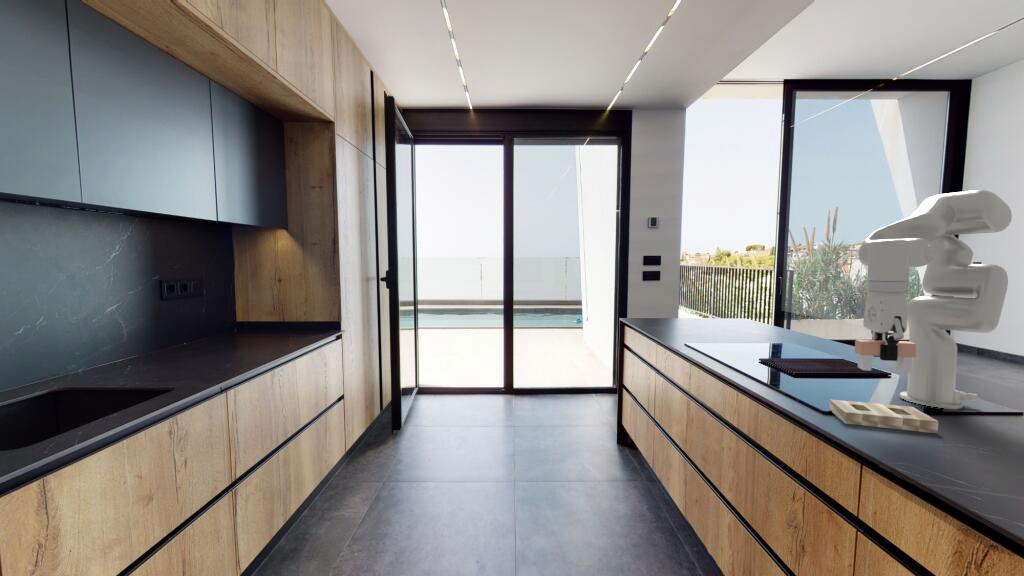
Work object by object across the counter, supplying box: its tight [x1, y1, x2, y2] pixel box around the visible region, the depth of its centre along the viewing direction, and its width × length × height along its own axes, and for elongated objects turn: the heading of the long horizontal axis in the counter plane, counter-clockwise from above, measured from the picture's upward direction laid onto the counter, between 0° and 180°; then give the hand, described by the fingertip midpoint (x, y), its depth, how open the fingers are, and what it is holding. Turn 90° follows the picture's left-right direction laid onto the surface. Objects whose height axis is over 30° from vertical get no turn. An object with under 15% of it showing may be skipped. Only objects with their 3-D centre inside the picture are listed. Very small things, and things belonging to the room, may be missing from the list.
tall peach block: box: [854, 339, 916, 374], centre depth 99 cm, size 11×3×8 cm, turn 70°
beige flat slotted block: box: [828, 398, 939, 434], centre depth 100 cm, size 18×10×3 cm, turn 69°
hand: (884, 357), depth 99 cm, fingers closed on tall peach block, 3 cm apart
